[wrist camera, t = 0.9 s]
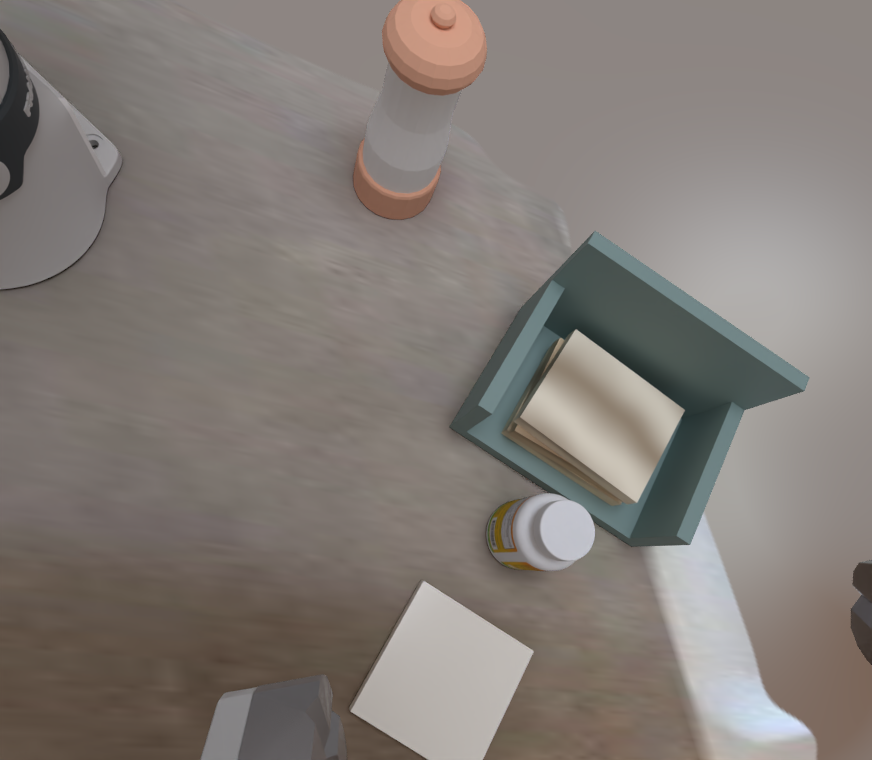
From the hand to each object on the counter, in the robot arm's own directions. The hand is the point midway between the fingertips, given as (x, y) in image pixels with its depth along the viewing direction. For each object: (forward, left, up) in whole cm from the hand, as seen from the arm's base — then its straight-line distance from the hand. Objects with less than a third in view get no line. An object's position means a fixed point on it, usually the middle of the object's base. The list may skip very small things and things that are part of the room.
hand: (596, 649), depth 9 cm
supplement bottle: (+6, +13, -40) cm, 42 cm away
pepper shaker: (-25, +23, -40) cm, 52 cm away
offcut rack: (+2, +23, -39) cm, 45 cm away
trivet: (+10, +2, -39) cm, 41 cm away
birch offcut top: (+2, +23, -35) cm, 42 cm away
